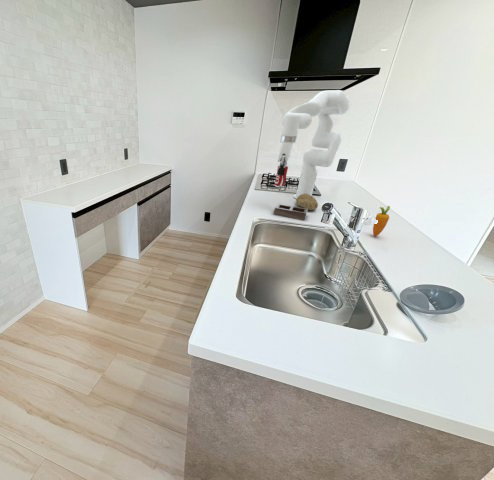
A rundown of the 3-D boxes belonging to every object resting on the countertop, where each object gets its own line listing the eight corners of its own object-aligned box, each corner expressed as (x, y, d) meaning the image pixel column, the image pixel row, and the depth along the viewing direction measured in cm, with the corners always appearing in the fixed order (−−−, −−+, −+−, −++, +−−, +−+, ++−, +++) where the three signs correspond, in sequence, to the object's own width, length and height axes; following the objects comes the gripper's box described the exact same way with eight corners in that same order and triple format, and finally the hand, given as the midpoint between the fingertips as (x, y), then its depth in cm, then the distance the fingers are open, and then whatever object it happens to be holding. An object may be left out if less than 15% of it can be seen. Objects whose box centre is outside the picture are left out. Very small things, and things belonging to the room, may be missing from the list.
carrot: (371, 238, 120) (383, 207, 113) (366, 233, 124) (378, 203, 117) (383, 239, 119) (396, 208, 112) (378, 235, 123) (390, 204, 116)
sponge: (296, 202, 170) (291, 204, 153) (301, 191, 167) (297, 191, 150) (316, 210, 164) (313, 213, 148) (322, 198, 161) (320, 200, 145)
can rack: (276, 210, 152) (278, 203, 151) (306, 215, 145) (308, 208, 143) (273, 214, 145) (274, 207, 144) (304, 220, 138) (306, 213, 136)
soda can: (284, 187, 144) (289, 165, 139) (275, 186, 145) (279, 164, 140) (283, 185, 149) (287, 164, 144) (273, 184, 150) (277, 163, 145)
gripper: (283, 138, 144) (277, 170, 152) (277, 140, 131) (271, 176, 139) (298, 138, 141) (291, 172, 149) (293, 141, 128) (285, 178, 136)
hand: (281, 173), depth 144 cm, fingers closed on soda can, 5 cm apart
